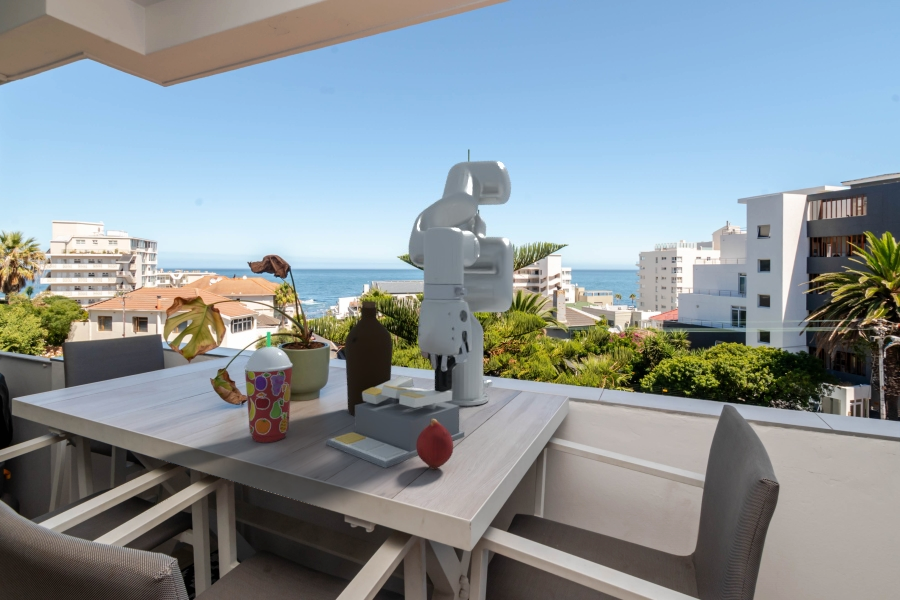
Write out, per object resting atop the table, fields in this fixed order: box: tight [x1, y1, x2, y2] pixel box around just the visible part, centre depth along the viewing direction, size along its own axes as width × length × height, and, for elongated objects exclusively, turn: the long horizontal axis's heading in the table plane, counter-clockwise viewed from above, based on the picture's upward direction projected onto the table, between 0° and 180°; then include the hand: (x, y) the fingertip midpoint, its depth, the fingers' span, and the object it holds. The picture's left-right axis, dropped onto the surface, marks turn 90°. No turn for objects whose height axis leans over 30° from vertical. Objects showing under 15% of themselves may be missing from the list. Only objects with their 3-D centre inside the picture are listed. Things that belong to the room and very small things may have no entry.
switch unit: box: [325, 398, 465, 469], centre depth 85 cm, size 20×16×7 cm
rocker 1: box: [362, 375, 415, 404], centre depth 90 cm, size 10×4×3 cm, turn 139°
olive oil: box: [344, 300, 393, 416], centre depth 104 cm, size 11×11×25 cm
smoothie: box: [244, 331, 293, 443], centre depth 86 cm, size 8×8×20 cm
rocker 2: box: [381, 385, 427, 400], centre depth 87 cm, size 10×4×3 cm, turn 140°
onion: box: [416, 419, 454, 470], centre depth 72 cm, size 6×6×8 cm
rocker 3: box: [399, 388, 452, 409], centre depth 84 cm, size 10×4×3 cm, turn 140°
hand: (443, 389), depth 87 cm, fingers closed
